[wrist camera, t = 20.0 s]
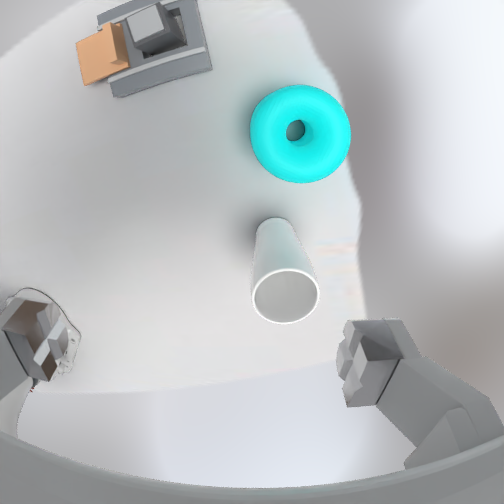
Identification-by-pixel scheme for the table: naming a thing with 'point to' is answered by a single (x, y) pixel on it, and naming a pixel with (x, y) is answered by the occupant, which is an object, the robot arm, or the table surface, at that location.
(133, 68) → the socket plate
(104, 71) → the block
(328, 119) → the donuts
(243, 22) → the table surface
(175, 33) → the plug
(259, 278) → the drinking glass
